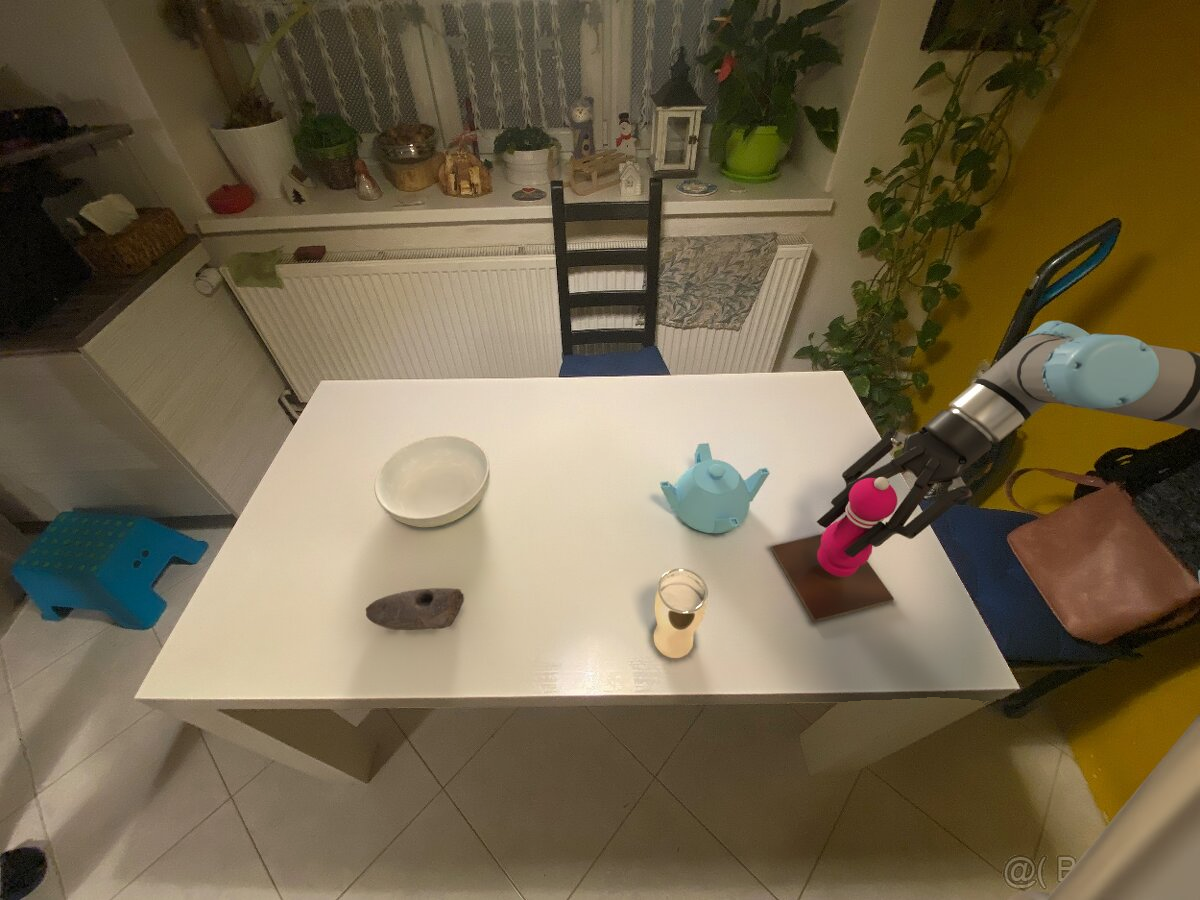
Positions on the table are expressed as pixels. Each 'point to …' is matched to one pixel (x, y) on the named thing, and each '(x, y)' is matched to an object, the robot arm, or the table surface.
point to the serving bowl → (433, 480)
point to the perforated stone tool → (416, 609)
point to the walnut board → (828, 582)
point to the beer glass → (678, 611)
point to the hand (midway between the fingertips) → (834, 539)
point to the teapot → (713, 493)
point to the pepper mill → (856, 525)
